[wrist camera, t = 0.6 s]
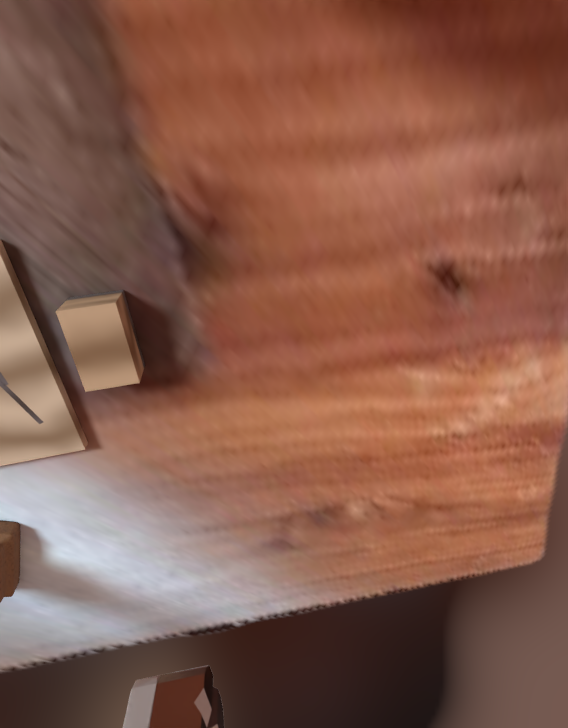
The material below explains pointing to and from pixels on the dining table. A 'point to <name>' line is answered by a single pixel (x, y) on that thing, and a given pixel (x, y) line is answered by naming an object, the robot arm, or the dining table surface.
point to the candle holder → (9, 558)
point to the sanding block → (102, 340)
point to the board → (30, 383)
